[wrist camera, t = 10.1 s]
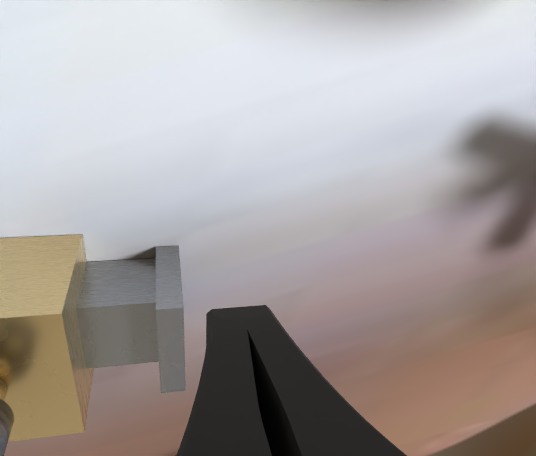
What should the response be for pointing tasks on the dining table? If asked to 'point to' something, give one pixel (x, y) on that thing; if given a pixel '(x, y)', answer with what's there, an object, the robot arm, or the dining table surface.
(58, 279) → the valve body
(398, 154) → the dining table surface
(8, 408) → the valve lever
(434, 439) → the dining table surface
